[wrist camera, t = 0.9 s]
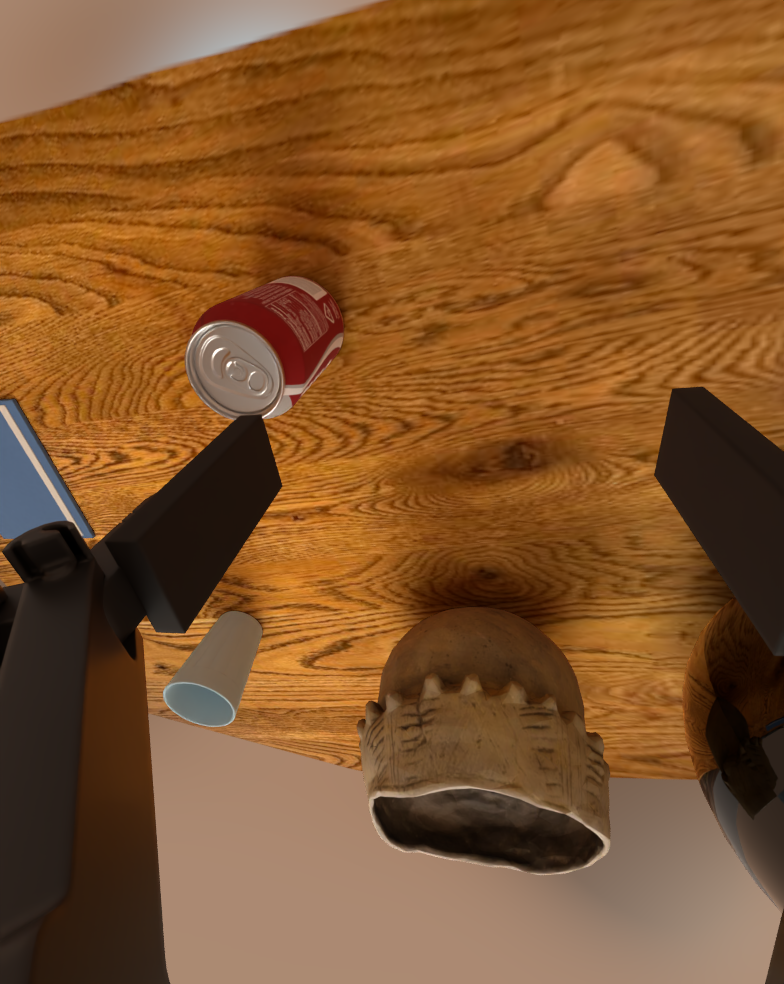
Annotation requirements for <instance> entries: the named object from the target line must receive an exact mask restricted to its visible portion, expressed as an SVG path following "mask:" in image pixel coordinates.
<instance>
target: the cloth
mask: <svg viewBox="0 0 784 984" xmlns="http://www.w3.org/2000/svg"><path fill="white" fill-rule="evenodd" d="M56 521H69V522H73V523H74V524H75V526H76V527H77V529H78V531H79V532H80V534H81V536H82V537H83V538H94V537H95V534H94V532H93V531H92V529H91V527H90V525H89V524H88V522H87V520H86V519H85V517H84V515H83V514H82V512H81V510H80V508H79V507H78V505H77V503H76V502H75V500H74V498H73V496H72V495H71V493H70V491H69V490H68V488H67V486H66V485H65V483H64V481H63V479H62V478H61V476H60V474H59V473H58V471H57V469H56V468H55V466H54V464H53V462H52V461H51V459H50V457H49V456H48V454H47V452H46V450H45V449H44V447H43V445H42V444H41V442H40V440H39V439H38V437H37V435H36V433H35V432H34V430H33V428H32V427H31V425H30V423H29V421H28V420H27V418H26V416H25V415H24V413H23V411H22V410H21V408H20V406H19V404H18V403H17V401H16V399H5V400H0V534H1V536H2V537H3V538H4V539H15V538H16V537H18V536H20V535H22V534H23V533H25V532H27V531H29V530H31V529H33V528H36V527H38V526H41V525H43V524H47V523H52V522H56Z"/></svg>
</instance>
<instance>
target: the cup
mask: <svg viewBox="0 0 784 984" xmlns="http://www.w3.org/2000/svg"><path fill="white" fill-rule="evenodd" d="M262 634H263V631H262V627H261V625H260V623H259V622H258V621H257V620H256V619H255V618H253V617H252V616H250V615H248V614H246V613H243V612H239V611H229V612H226V613H224V614H222V615H221V616H220V618H219V619H218V620H217V621H216V623H215V624H214V625H213V626H212V628H211V629H210V630H209V632H208V633H207V634H206V636H205V637H204V638H203V639H202V641H201V642H200V643H199V645H198V646H197V647H196V649H195V650H194V651H193V652H192V654H191V655H190V656H189V658H188V659H187V660H186V662H185V663H184V664H183V665H182V667H181V668H180V669H179V671H178V672H177V673H176V674H175V676H174V677H173V678H172V679H171V681H170V682H169V683H168V685H167V686H166V687H165V689H164V691H163V698H164V701H165V702H166V704H167V705H168V707H169V708H170V709H171V710H172V711H174V712H175V713H176V714H177V715H179V716H181V717H182V718H184V719H186V720H188V721H190V722H193V723H196V724H199V725H203V726H210V727H220V726H225V725H228V724H230V723H231V722H232V721H233V720H234V718H235V716H236V713H237V710H238V707H239V704H240V701H241V697H242V694H243V691H244V688H245V685H246V682H247V679H248V676H249V673H250V670H251V667H252V664H253V661H254V658H255V655H256V652H257V649H258V646H259V643H260V640H261V637H262Z"/></svg>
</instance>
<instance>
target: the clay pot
mask: <svg viewBox="0 0 784 984" xmlns="http://www.w3.org/2000/svg"><path fill="white" fill-rule="evenodd" d="M357 730H358V734H359V737H360V743H359V747H360V750H361V759H362V769H363V777H364V782H365V787H366V792H367V796H368V801H369V812H370V814H371V817H372V821H373V825H374V827H375V829H376V831H377V833H378V834H379V836H380V837H381V838H382V840H383V841H384V842H385V843H387V844H388V845H389V846H391V847H393V848H395V849H397V850H399V851H401V852H410V853H413V852H421V853H424V854H428V855H431V856H435V857H439V858H444V859H448V860H455V861H462V862H468V863H473V864H478V865H483V866H488V867H506V868H510V869H515V870H519V871H523V872H527V873H533V874H538V875H548V874H564V873H568V872H571V871H574V870H578V869H582V868H585V867H588V866H591V865H592V864H593V863H594V862H595V861H597V860H598V859H600V858H602V857H603V856H605V855H606V854H607V852H608V850H609V848H610V821H609V787H608V781H609V778H610V771H609V766H608V764H607V763H606V762H605V761H604V760H603V751H604V744H603V739H602V738H601V736H600V735H599V734H597V733H596V732H594V733H590V732H586V730H585V720H584V705H583V701H582V697H581V693H580V689H579V686H578V682H577V678H576V676H575V673H574V671H573V669H572V667H571V665H570V664H569V662H568V660H567V658H566V657H565V655H564V654H563V653H562V651H561V650H560V649H559V648H558V647H557V646H556V645H555V643H554V642H553V641H552V640H551V639H550V638H549V637H547V636H546V635H545V634H544V633H543V632H541V631H540V630H539V629H538V628H537V627H535V626H534V625H533V624H531V623H530V622H528V621H526V620H525V619H523V618H521V617H519V616H517V615H515V614H513V613H510V612H507V611H504V610H500V609H495V608H487V607H463V608H456V609H450V610H446V611H443V612H440V613H437V614H435V615H433V616H431V617H429V618H427V619H425V620H423V621H421V622H420V623H418V624H417V625H416V626H414V627H413V628H412V629H411V630H410V631H409V632H408V633H407V634H406V635H405V636H404V637H403V638H402V639H401V640H400V641H399V643H398V644H397V645H396V646H395V647H394V649H393V650H392V652H391V654H390V656H389V658H388V660H387V662H386V665H385V667H384V669H383V672H382V676H381V683H380V691H379V698H378V703H376V702H373V701H369V702H368V703H367V704H366V720H365V719H362V720H359V721H358V724H357Z"/></svg>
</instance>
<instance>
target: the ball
mask: <svg viewBox="0 0 784 984" xmlns="http://www.w3.org/2000/svg"><path fill="white" fill-rule="evenodd" d="M683 717H684V727H685V737H686V742H687V745H688V749H689V752H690V755H691V758H692V762H693V765H694V768H695V772H696V775H697V778H698V780H699V783H700V785H701V788H702V791H703V793H704V795H705V797H706V799H707V801H708V804H709V806H710V808H711V810H712V812H713V814H714V816H715V818H716V820H717V822H718V824H719V826H720V828H721V830H722V832H723V834H724V837H725V838H726V840H727V841H728V842H729V844H730V845H731V847H732V848H733V850H734V852H735V853H736V855H737V856H738V857H739V859H740V861H741V862H742V864H743V865H744V867H745V868H746V870H747V871H748V872H749V874H750V875H751V877H752V878H753V880H754V881H755V883H756V884H757V885H758V886H759V887H760V889H761V890H762V891H763V892H764V893H765V894H766V895H767V896H768V898H769V899H770V900H771V901H772V902H773V903H774V905H775V906H776V907H777V908H778V909H779V910H780V911H781V913H783V909H784V656H774V655H773V653H772V652H771V650H770V649H769V647H768V646H767V644H766V643H765V641H764V640H763V638H762V637H761V635H760V634H759V632H758V631H757V629H756V628H755V626H754V625H753V623H752V622H751V620H750V619H749V617H748V616H747V614H746V613H745V611H744V610H743V608H742V607H741V605H740V604H739V602H738V601H737V599H736V598H735V597H734V598H732V599H731V600H730V601H729V602H728V603H727V604H725V605H724V606H723V607H722V608H721V609H720V610H718V611H717V612H716V613H715V615H714V616H713V617H712V619H711V620H710V621H709V622H708V624H707V625H706V626H705V627H704V629H703V630H702V631H701V633H700V635H699V638H698V640H697V642H696V644H695V646H694V649H693V651H692V653H691V655H690V658H689V660H688V662H687V665H686V671H685V678H684V685H683Z"/></svg>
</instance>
